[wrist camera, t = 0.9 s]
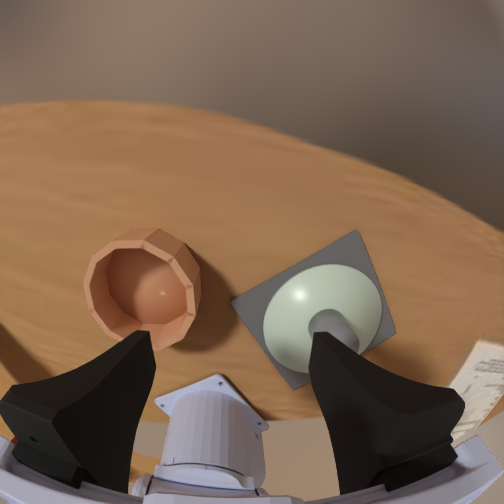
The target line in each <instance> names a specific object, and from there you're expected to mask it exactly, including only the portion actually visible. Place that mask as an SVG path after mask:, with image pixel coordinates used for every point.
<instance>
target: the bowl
mask: <svg viewBox="0 0 504 504" xmlns="http://www.w3.org/2000/svg"><path fill="white" fill-rule="evenodd" d="M83 285H84V290H85V295H86V299H87V304H88V308H89V312H90V313H91V314H92V316H93V317H94V318H95V320H96V321H97V322H98V324H99V325H100V326H101V327H102V329H103V330H104V331H105V333H106V334H107V335H109V336H111V337H112V338H114V339H116V340H118V341H119V342H120V341H122V340H123V339H124V338H126V337H127V336H128V335H130V334H131V333H133V332H134V331H136V330H144V331H150V337H151V342H152V348H153V350H159V351H160V350H162V349H164V348H166V347H168V346H170V345H172V344H174V343H176V342H178V341H180V340H182V339H183V338H184V336H185V334H186V333H187V331H188V329H189V327H190V325H191V324H192V322H193V320H194V318H195V316H196V314H197V310H198V306H199V303H200V299H201V295H202V290H201V275H200V266H199V265H198V263H197V262H196V260H195V259H194V257H193V256H192V254H191V253H190V251H189V250H188V248H187V246H186V245H185V243H184V242H182V241H180V240H178V239H176V238H174V237H173V236H171V235H169V234H167V233H165V232H164V231H162V230H160V229H138V230H130V231H128V232H127V233H125V234H123V235H122V236H120V237H118V238H116V239H115V240H113V241H112V242H111V243H109V244H108V245H107V246H105V247H104V248H103V249H101V250H100V251H99V252H98V253H96V254H95V255H94V256H92V257H91V259H90V263H89V266H88V269H87V272H86V275H85V279H84V282H83Z"/></svg>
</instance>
